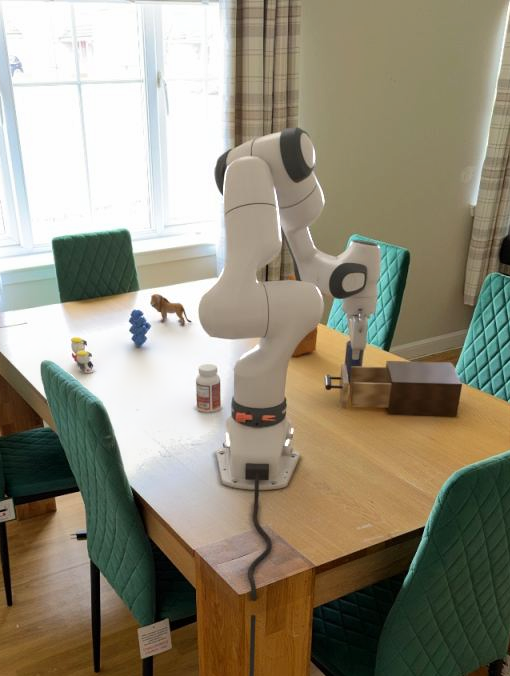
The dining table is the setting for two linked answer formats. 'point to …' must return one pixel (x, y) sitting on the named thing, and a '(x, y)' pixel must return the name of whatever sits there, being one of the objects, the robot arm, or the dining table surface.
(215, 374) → the pill bottle
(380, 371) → the drawer
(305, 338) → the coffee package
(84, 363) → the toy figures
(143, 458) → the dining table surface
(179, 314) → the lion figurine
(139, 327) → the grapes
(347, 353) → the pepper mill
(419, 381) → the cabinet
